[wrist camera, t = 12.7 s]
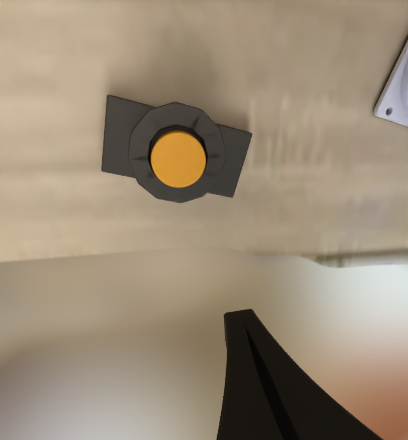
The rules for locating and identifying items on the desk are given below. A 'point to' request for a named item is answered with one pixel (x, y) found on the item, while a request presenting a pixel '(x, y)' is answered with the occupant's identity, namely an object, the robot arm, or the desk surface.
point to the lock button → (178, 159)
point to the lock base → (153, 129)
